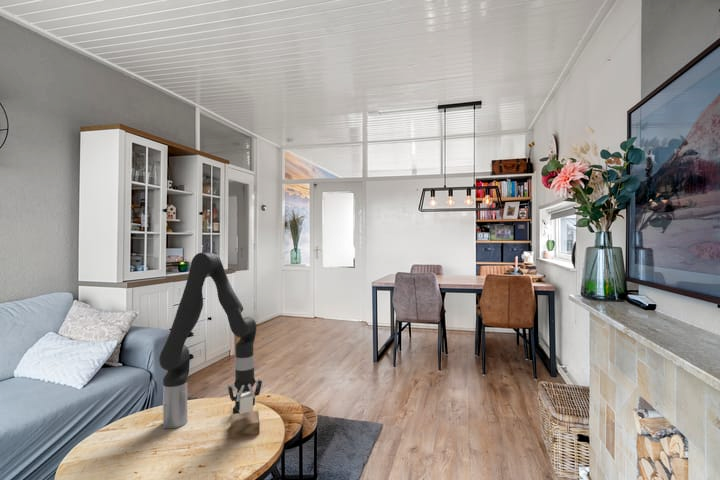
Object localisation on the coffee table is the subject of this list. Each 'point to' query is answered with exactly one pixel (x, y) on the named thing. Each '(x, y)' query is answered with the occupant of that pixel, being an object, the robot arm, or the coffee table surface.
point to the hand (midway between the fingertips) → (245, 407)
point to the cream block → (246, 403)
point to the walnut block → (245, 424)
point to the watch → (236, 409)
